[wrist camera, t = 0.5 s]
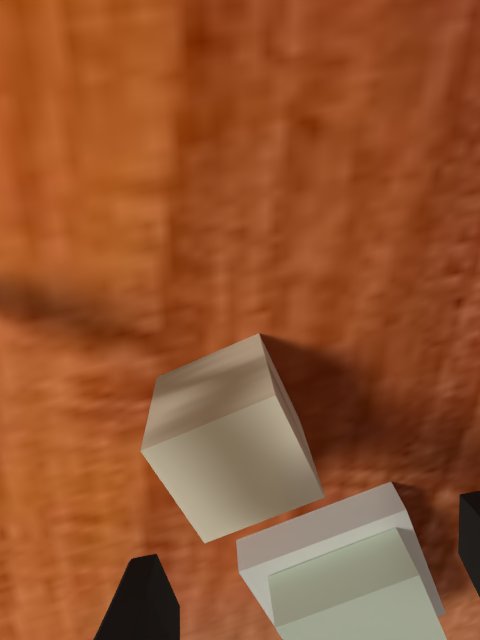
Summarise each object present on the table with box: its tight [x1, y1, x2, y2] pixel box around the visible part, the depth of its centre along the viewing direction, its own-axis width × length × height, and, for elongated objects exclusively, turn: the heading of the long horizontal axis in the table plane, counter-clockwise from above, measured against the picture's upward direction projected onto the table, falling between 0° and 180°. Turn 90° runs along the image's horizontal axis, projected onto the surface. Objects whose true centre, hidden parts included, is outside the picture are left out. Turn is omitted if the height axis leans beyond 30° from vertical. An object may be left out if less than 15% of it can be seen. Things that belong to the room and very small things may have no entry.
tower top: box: [268, 528, 447, 640], centre depth 21 cm, size 7×7×2 cm
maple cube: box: [141, 333, 325, 543], centre depth 17 cm, size 5×5×5 cm
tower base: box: [236, 482, 446, 626], centre depth 24 cm, size 9×9×2 cm
